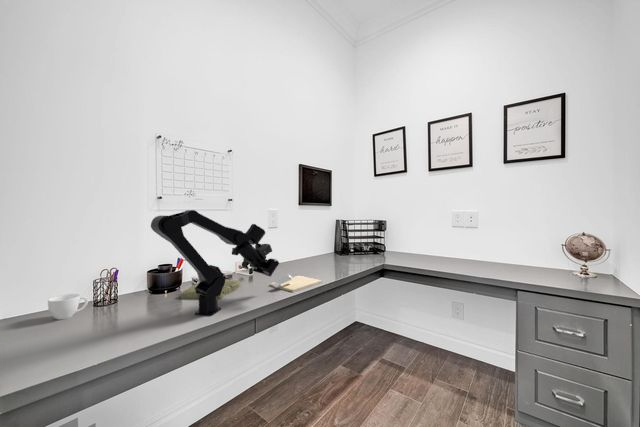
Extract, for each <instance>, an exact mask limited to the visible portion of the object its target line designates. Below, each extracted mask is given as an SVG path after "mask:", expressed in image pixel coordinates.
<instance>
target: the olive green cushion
mask: <svg viewBox="0 0 640 427" xmlns="http://www.w3.org/2000/svg"><path fill="white" fill-rule="evenodd" d="M199 283H200V282H199ZM199 283H196V284H194V285H192V286H190V287H189V288H187V289H184V290H183V291H182V292H181V293H180V299H186V300H187V299H189V300H191V299H193V300H199V296H200V294H197V293H196V291H195V287H196V286H197V285H198V284H199ZM241 287H242V283H241V281H240V280H229V279H225V284H224V286H223V288H222V291H221V295H219V296H218V300H222V299H223V298H224V297H225V296H227V295H229V294H232V293H234V292H235V291H237V290H238V289H239V288H241Z"/></svg>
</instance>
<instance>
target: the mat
mask: <svg viewBox="0 0 640 427" xmlns="http://www.w3.org/2000/svg"><path fill="white" fill-rule="evenodd" d="M291 277H292V283H291V284H288V285H285V286H283V287H280V288H279V289H280V290H283V291H287V292H291V293H295V292H297V291H301V290H304V289H306V288H310V287H314V286H316V285H319V284H323V280H321V279H316V278H312V277H307V276H302V275H297V276H296V275H295V276H291ZM274 282H275V281H274ZM274 282H271V283H269V287H272V288H276V287H275V286H274Z"/></svg>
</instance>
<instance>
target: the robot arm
mask: <svg viewBox="0 0 640 427" xmlns="http://www.w3.org/2000/svg"><path fill="white" fill-rule="evenodd" d="M190 224H192V225H194V226H196V227H199V228H201V229H203V230H205V231H207V232H209V233H211V234H213V235H215V236H217V237H218V238H219V239H220V240H221V241H222V242H224V243H225V244H226V245H230V246H235V247H232V250H231V255H233V256H239V255H240V256H241V257H242V258H243V259H242V262H241V267H242V268H243V269H245V270H249V267H250V268H251V269H252V271H253V272H255V273H258V274H261V275H264V276H267V277H272V275H273V274H274V272H275V271H276V269H277V267H278V266H279V264H280V262H279V261H278V259H277V258H268V259H267V255H269V254H270V253H273V249H272V246H271V244H269V243H260V241H261V240H262V239H263V237H264V236H265V235H266V231H265V229H264V228H262V227H261V226H258V225H257V224H256V223H251V225H250V226H249V228H248V230H246V232H244V231H242V230H239V229H236V228H232V227H229V226H224V225H223V224H220V223H219V222H217V221H215V220H213V219H211V218H208V217H207V216H205V215H203V214H202V213H199V212H198V211H197V210H194V209H187V210H184V211H181V212H179V213H178V212H177V213H175V214H170V215H157V216H154V218H152V221H151V222H150V228H151V230H152V231H153V232H154V233H156V234H157V235H158V236H159V237H161V238H163V239H164V240H166V241H167V242H169V243H170V244H171V245H172V246H173V247H174V248H175V249H176V250H177V252H178V253H179V254H180V255H181V256H182V257H183V259H185V261H187V263H188V264H189V265H190V266H191V267H192V268H193V270H194V271H195V272H196V273H197V276H198V280H199V284H198V283H197V284H198V285H197V286H196V287H195V291H196V293H197V294H200V296H199V299H198V310H197V311H196V312H194V314H195V315H200V316H201V315H202V316H213V315H215V314H216V313H218V312H219V311H221V310H222V306H221V307H220V306H219V307H218V303H219V302H218V300H219V299H218V296H219V295H221V291H222V288H223V286H224V284H225V280H226V278H225V275H226V274H225V273H223V272H222V270H221V269H220V267H219V266H215V265H212V264H208V263H207V261H206V260H205V259H204V258H203V256H202V255H201V254H200V253H199V252H198V251H197V249H196V248H195V247H193V245H192V244H191V243H190V241H189V240H188V239H187V237H186V236H185V235H184V231H183V229H182V228H183V227H185V226H188V225H190ZM253 245H254V246H253Z"/></svg>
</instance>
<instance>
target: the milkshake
mask: <svg viewBox="0 0 640 427" xmlns="http://www.w3.org/2000/svg"><path fill="white" fill-rule="evenodd" d="M292 277H293V276H292V275H290V274H288V273H287V274H285V275H284V276H282V277H280V278H279V279H278V278H277V280H275V281H274V286H275V287H274V288H276V289H280V287H283V286H285V285H288V284H291V283H292Z"/></svg>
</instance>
